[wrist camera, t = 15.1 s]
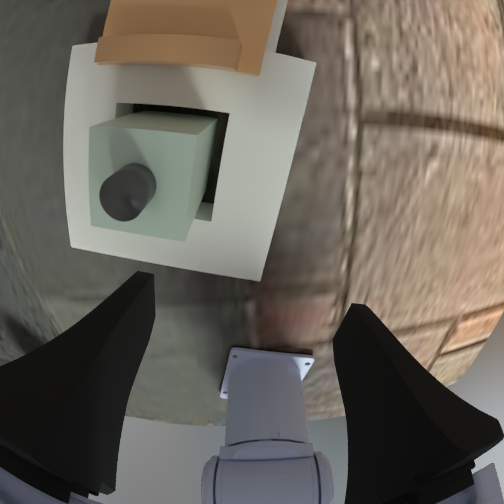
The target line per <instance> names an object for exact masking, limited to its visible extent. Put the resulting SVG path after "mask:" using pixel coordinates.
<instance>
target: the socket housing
mask: <svg viewBox="0 0 504 504" xmlns="http://www.w3.org/2000/svg"><path fill="white" fill-rule="evenodd" d="M287 2H288V0H277V3H276V7H275V11H274V15H273V19H272V23H271V28H270V32H269V36H268V40H267V44H266V49H265V53H264V57H263V62H262V66H261V70H260V75H259V76H255V75H249V74H244V73H237V72H231V71H224V70H216V69H208V68H199V67H187V66H173V65H146V64H127V65H97V63H94V60H95V54H96V49H97V43H98V42H97V43H88V44H81V45H74V46H72V52H71V57H70V64H69V71H68V79H67V88H66V98H65V112H64V139H63V158H64V185H65V199H66V210H67V220H68V228H69V236H70V243H71V247H74V248H79V249H84V250H89V251H94V252H98V253H103V254H108V255H113V256H119V257H124V258H129V259H134V260H139V261H145V262H150V263H155V264H161V265H166V266H172V267H177V268H183V269H188V270H194V271H200V272H206V273H212V274H217V275H223V276H229V277H235V278H242V279H248V280H254V281H260V280H261V276H262V273H263V269H264V265H265V262H266V258H267V254H268V251H269V247H270V243H271V239H272V236H273V232H274V228H275V225H276V221H277V217H278V213H279V209H280V206H281V202H282V198H283V194H284V190H285V187H286V183H287V179H288V175H289V171H290V167H291V163H292V159H293V155H294V152H295V148H296V144H297V140H298V136H299V132H300V128H301V124H302V120H303V116H304V112H305V108H306V104H307V100H308V95H309V91H310V87H311V83H312V79H313V75H314V71H315V67H316V63H315V62H311V61H308V60H304V59H300V58H296V57H292V56H288V55H284V54H279V53H275V52H276V48H277V44H278V39H279V35H280V31H281V27H282V23H283V19H284V14H285V10H286V6H287ZM134 103H136V104H154V105H167V106H178V107H187V108H196V109H204V110H211V111H218V112H225V113H230V115H229V120H228V125H227V130H226V136H225V141H224V147H223V152H222V158H221V164H220V170H219V175H218V182H217V188H216V194H215V200H214V204H212V203H205V202H201V203H200V205H199V208H198V210H197V213H196V215H195V217H194V220H193V222H192V225H191V227H190V230H189V232H188V235H187V237H186V240H185V242H181V241H175V240H170V239H164V238H158V237H152V236H146V235H140V234H135V233H129V232H123V231H117V230H111V229H105V228H100V227H94V226H91V219H90V204H89V173H88V157H89V127H90V126H93V125H96V124H99V123H102V122H105V121H109V120H112V119H115V118H119V117H122V116H126V115H129V114H133V107H134Z"/></svg>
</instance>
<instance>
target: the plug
mask: <svg viewBox="0 0 504 504" xmlns="http://www.w3.org/2000/svg"><path fill="white" fill-rule="evenodd" d="M217 121H218V118H212V117H205V116H197V115H189V114H180V113H170V112H158V111H141V112H137V113H133V114H129V115H126V116H122V117H119V118H115V119H112V120H109V121H105V122H102V123H99V124H96V125H93V126H90V127H89V157H88V173H89V204H90V219H91V226H94V227H100V228H105V229H111V230H117V231H123V232H129V233H135V234H140V235H146V236H152V237H158V238H164V239H170V240H175V241H181V242H185V240H186V237H187V235H188V232H189V230H190V227H191V225H192V222H193V220H194V217H195V215H196V213H197V210H198V208H199V205H200V203H201V201H202V198H203V196H204V194H205V191H206V189H207V182H208V175H209V169H210V162H211V156H212V150H213V144H214V138H215V132H216V127H217Z"/></svg>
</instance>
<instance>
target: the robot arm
mask: <svg viewBox="0 0 504 504" xmlns="http://www.w3.org/2000/svg"><path fill="white" fill-rule="evenodd" d="M154 320H155V293H154V274H151V273H145V272H140V271H137V272H136V273H135V274H133V275H132V276H131V277H130V278H129V279H128V280H127V281H126V282H124V283H123V284H122V285H121V286H120V287H119V288H118V289H117V290H116V291H114V292H113V293H112V294H111V295H110V296H109V297H108V298H106V299H105V300H104V301H103V302H102V303H101V304H100V305H98V306H97V307H96V308H95V309H94V310H92V311H91V312H90V313H89V314H87V315H86V316H85V317H83V318H82V319H81V320H80V321H78V322H77V323H76V324H74V325H73V326H72V327H70V328H69V329H68V330H66V331H65V332H63V333H62V334H60V335H59V336H57V337H56V338H54V339H53V340H51V341H49V342H48V343H46V344H44V345H42V346H41V347H39V348H37V349H35V350H34V351H32V352H30V353H28V354H26V355H24V356H22V357H20V358H18V359H16V360H14V361H12V362H9V363H7V364H5V365H2V366H0V504H102V503H99V502H96V501H93V500H91V499H88V495H89V493H90V494H92V495H95V496H98V495H99V492H100V493H103V494H106V495H108V494H110V493H112V492H114V491H115V486H116V485H115V484H116V471H117V461H118V452H119V445H120V438H121V432H122V426H123V421H124V416H125V411H126V407H127V402H128V398H129V395H130V391H131V388H132V385H133V383H134V380H135V377H136V374H137V372H138V369H139V366H140V363H141V361H142V358H143V355H144V353H145V350H146V347H147V345H148V342H149V339H150V335H151V332H152V328H153V324H154ZM332 340H333V353H334V362H335V367H336V372H337V376H338V381H339V385H340V390H341V394H342V399H343V404H344V408H345V414H346V420H347V432H348V479H347V489H346V497H345V504H504V500H503V496H502V492H501V487H500V483H499V479H498V476H497V472H496V469H495V465H494V463H491V464H489V465H488V466H486V467H484V468H483V469H481V470H479V471H477V472H475V473H474V474H472V472H471V469H473V468H474V467H475V462H474V460H475V459H476V458H478V457H479V456H481V455H482V454H484V453H485V452H487V451H488V450H490V449H491V448H493V447H494V446H495V445H496V444H498V443H499V442H500V441H501V440H503V438H504V434H503V431H502V428H501V426H500V423H499V421H498V420H497V419H495V418H494V417H492V416H490V415H488V414H486V413H484V412H482V411H480V410H478V409H477V408H475V407H473V406H472V405H470V404H469V403H467V402H465V401H464V400H462V399H461V398H459V397H458V396H457V395H455V394H454V393H453V392H451V391H450V390H449V389H448V388H446V387H445V386H444V385H443V384H441V383H440V382H439V381H438V380H437V379H436V378H435V377H433V376H432V375H431V374H430V373H429V372H428V371H427V370H426V369H425V368H424V367H423V366H422V365H421V364H420V363H419V362H418V361H417V360H416V359H415V358H414V357H413V356H412V355H411V354H410V353H409V352H408V351H407V350H406V349H405V347H404V346H403V345H402V344H401V343H400V342H399V341H398V340H397V339H396V337H395V336H394V335H393V334H392V333H391V332H390V331H389V329H388V328H387V327H386V326H385V325H384V324H383V323H382V321H381V320H380V319H379V318H378V317H377V316H376V315H375V314H374V313H373V312H372V310H371V309H370V308H369V307H368V306H366V305H364V304H355V303H352V304H351V306H350V308H349V310H348V312H347V313H346V315H345V317H344V319H343V321H342V323H341V325H340V327H339V329H338V330H337V332H336V334H335V336H334V338H333V339H332ZM313 362H314V356H312V355H304V354H292V353H281V352H271V351H262V350H254V349H246V348H238V347H234V348H232V349H231V350H230V354H229V358H228V362H227V367H226V371H225V375H224V379H223V383H222V387H221V391H220V397H221V398H225V399H228V401H227V417H226V434H225V446H223V447H222V446H221V447H220V456H212V457H211V459H210V460H209V461H207V462H206V464H205V466H204V469H203V474H202V480H201V500H202V504H333V495H334V487H333V476H332V470H331V465H330V462H329V460H328V458H327V457H326V456H325V455H323V454H322V453H321V452H320V451H317V452H313V444H312V443H309V442H308V432H307V423H306V414H305V405H304V397H303V389H302V380H303V378H304V377H305V375H306V373H307V372H308V370H309V368H310V367H311V365H312V364H313Z"/></svg>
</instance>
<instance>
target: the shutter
mask: <svg viewBox="0 0 504 504" xmlns="http://www.w3.org/2000/svg"><path fill="white" fill-rule="evenodd" d="M276 3H277V0H111V3H110V7H109V10H108V14H107V18H106V23H105V27H104V31H103V36H102V37H99V38H98V43H97V49H96V54H95V60H94V63H97V65H127V64H146V65H173V66H187V67H199V68H208V69H216V70H224V71H231V72H237V73H244V74H249V75H255V76H259V75H260V70H261V66H262V62H263V57H264V53H265V49H266V44H267V40H268V36H269V32H270V28H271V23H272V19H273V15H274V11H275V7H276Z"/></svg>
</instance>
